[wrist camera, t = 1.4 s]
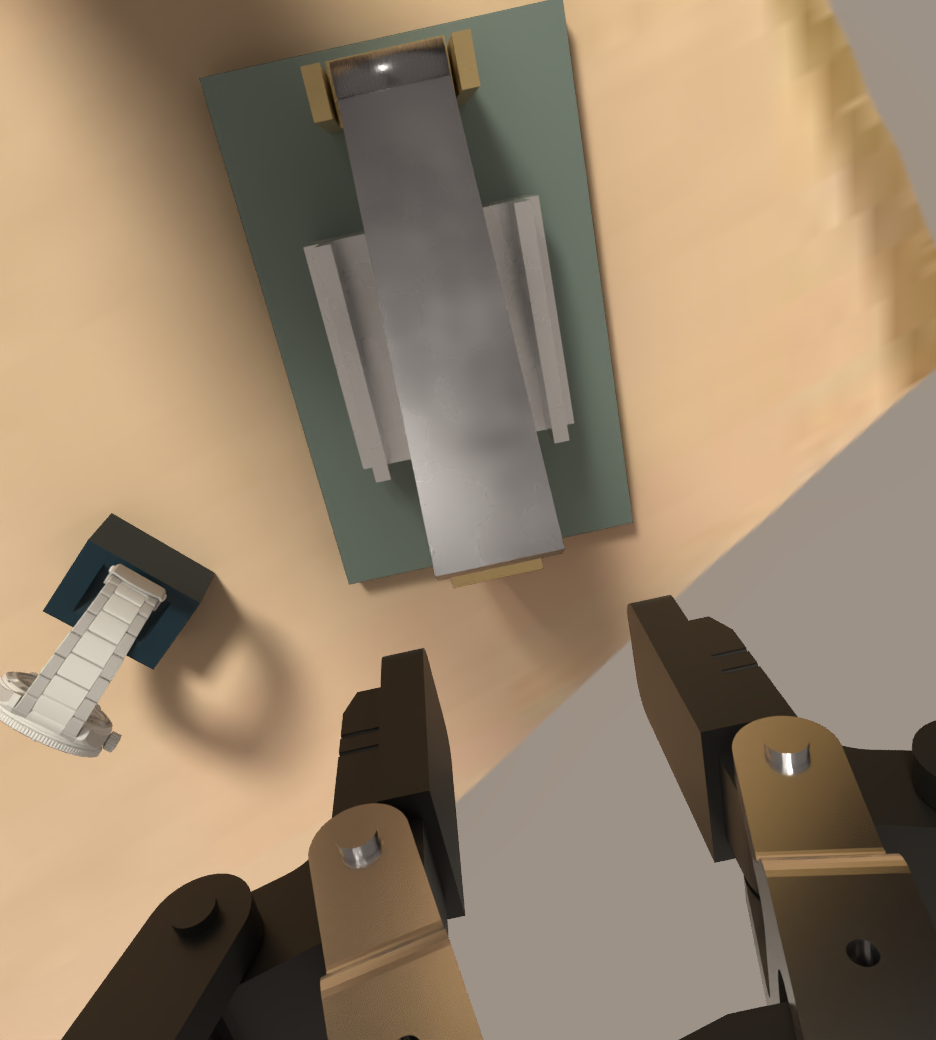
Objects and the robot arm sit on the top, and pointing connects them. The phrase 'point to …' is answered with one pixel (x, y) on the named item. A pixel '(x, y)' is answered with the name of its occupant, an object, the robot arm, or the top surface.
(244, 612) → the top surface
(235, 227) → the top surface
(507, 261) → the heat sink
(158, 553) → the watch
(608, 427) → the board
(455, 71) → the clip posts
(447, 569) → the strap
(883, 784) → the robot arm
